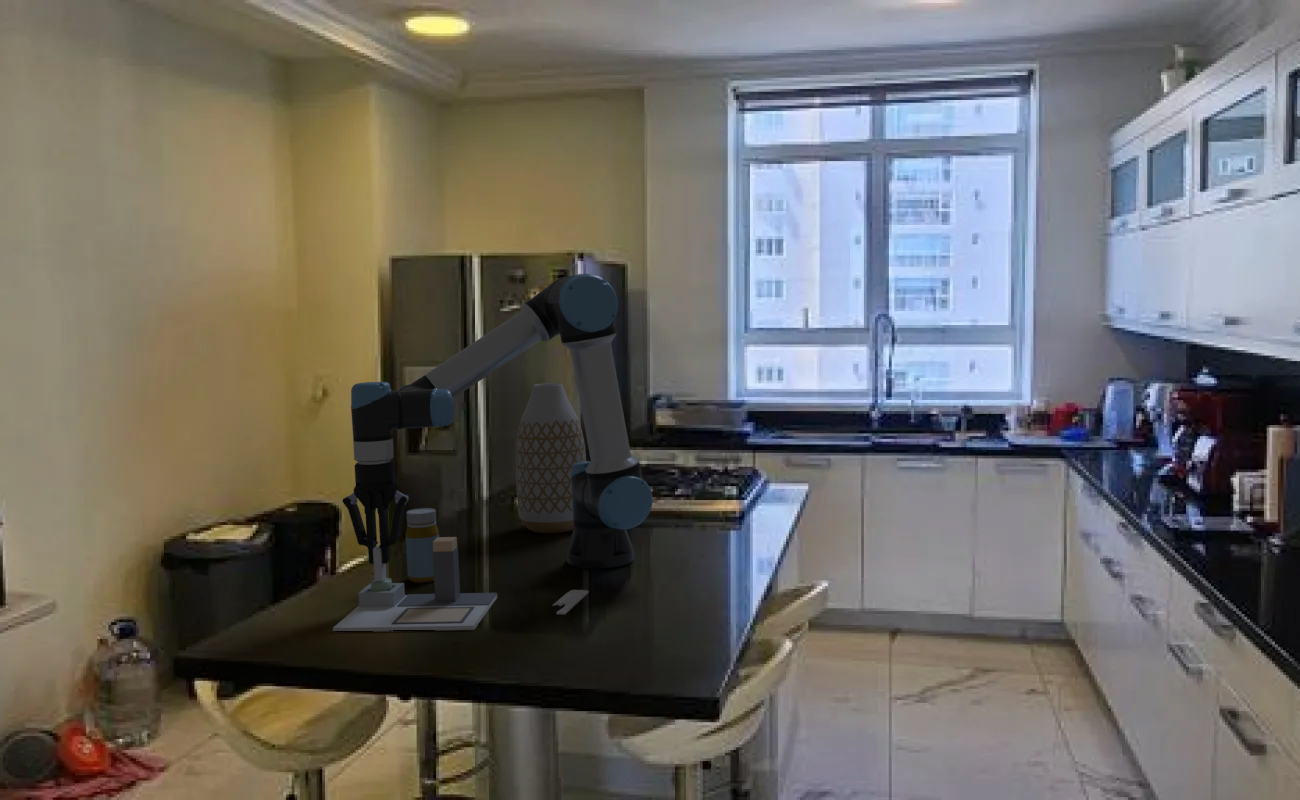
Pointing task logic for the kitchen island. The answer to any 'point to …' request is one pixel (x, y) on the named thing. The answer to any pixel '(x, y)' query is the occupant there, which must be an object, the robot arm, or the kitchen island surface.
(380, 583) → the button
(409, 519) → the bottle
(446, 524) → the kitchen island surface
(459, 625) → the board
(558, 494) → the vase
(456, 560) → the two-tone square rod
